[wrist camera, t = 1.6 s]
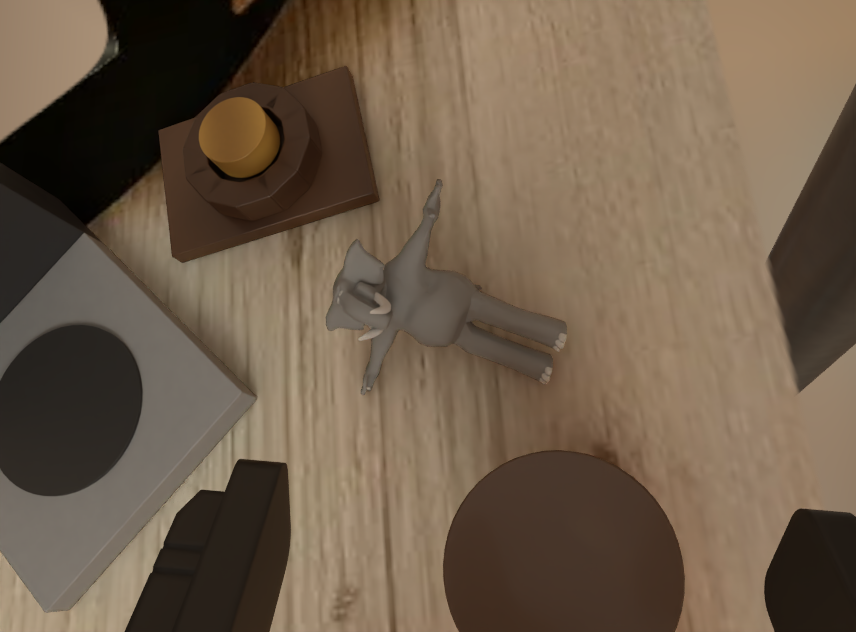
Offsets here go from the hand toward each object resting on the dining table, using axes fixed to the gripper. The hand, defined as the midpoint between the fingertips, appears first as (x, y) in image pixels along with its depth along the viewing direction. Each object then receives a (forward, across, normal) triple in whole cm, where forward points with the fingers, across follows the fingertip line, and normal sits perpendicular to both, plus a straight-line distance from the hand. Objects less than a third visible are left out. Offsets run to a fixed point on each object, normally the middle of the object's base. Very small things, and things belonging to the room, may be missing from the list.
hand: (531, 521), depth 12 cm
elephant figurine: (+19, +1, +8) cm, 21 cm away
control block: (+26, +10, +5) cm, 28 cm away
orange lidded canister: (+11, -4, +14) cm, 18 cm away
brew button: (+24, +11, +4) cm, 27 cm away
